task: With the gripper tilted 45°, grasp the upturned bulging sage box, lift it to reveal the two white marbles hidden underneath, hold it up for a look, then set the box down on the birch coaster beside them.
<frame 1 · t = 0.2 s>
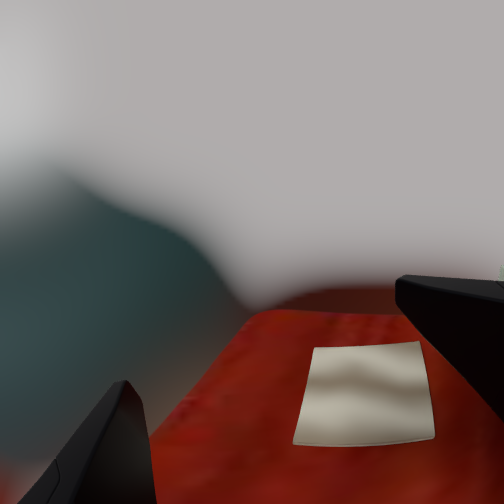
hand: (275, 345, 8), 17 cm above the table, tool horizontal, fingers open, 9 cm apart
birch coaster: (367, 392, 21), on the table
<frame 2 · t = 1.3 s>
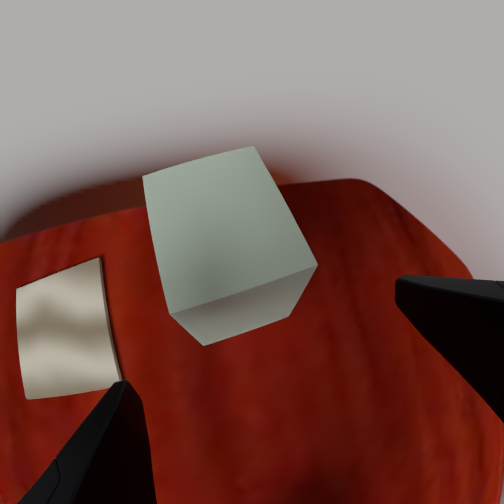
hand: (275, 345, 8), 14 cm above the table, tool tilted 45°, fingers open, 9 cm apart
bulging sage box: (228, 283, 23), on the table
birch coaster: (59, 332, 20), on the table
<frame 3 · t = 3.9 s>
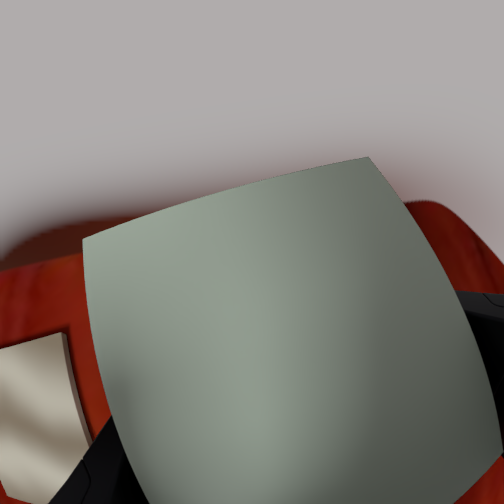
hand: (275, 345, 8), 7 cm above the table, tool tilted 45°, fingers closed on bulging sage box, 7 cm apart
bulging sage box: (272, 385, 13), on the table, touching gripper
birch coaster: (27, 430, 10), on the table
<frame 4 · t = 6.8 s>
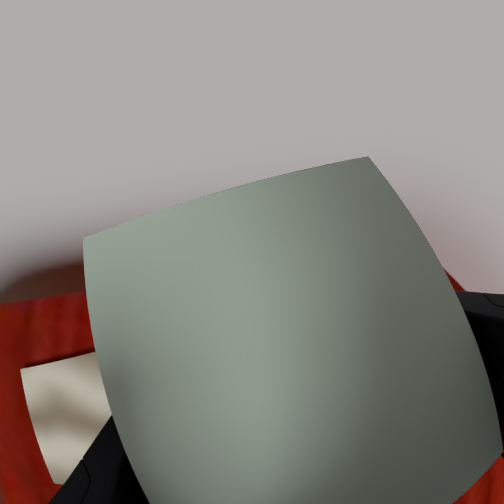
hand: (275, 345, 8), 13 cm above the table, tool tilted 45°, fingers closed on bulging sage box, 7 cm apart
bulging sage box: (272, 385, 13), point 7 cm above the table, touching gripper
birch coaster: (79, 424, 16), on the table
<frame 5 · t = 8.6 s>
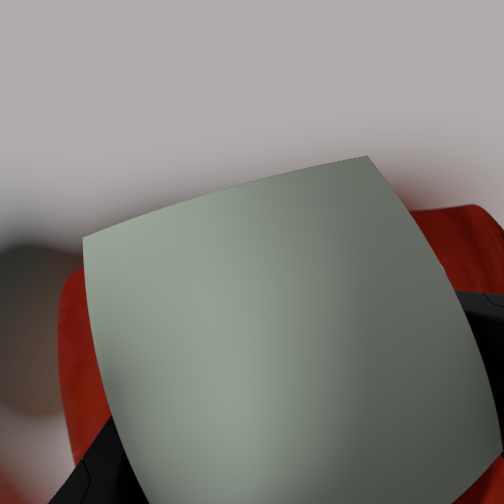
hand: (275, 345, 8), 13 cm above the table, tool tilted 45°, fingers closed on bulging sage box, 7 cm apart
bulging sage box: (272, 385, 13), point 6 cm above the table, touching gripper
when the fingers open (8 cm above the table, at t = 10.1 s): bulging sage box drops 1 cm, resting on birch coaster.
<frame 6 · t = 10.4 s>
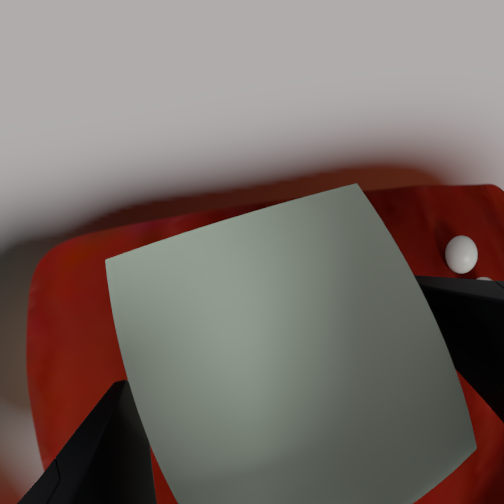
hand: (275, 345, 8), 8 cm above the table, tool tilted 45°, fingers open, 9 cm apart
bulging sage box: (271, 384, 14), point 1 cm above the table, touching birch coaster
marble a: (451, 262, 18), on the table
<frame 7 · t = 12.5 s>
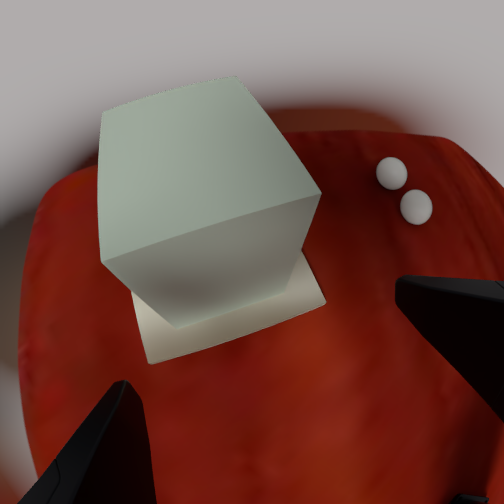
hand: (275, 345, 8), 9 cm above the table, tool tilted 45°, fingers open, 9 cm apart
bulging sage box: (209, 252, 19), point 1 cm above the table, touching birch coaster
marble a: (385, 183, 23), on the table
marble b: (408, 216, 21), on the table
birch coaster: (210, 256, 19), on the table
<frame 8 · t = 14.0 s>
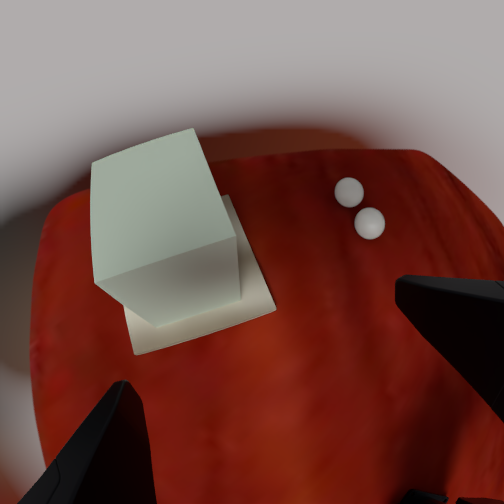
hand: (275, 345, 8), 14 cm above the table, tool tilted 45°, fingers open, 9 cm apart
bulging sage box: (183, 266, 23), point 1 cm above the table, touching birch coaster
marble a: (345, 201, 27), on the table
marble b: (364, 231, 25), on the table
birch coaster: (184, 269, 23), on the table
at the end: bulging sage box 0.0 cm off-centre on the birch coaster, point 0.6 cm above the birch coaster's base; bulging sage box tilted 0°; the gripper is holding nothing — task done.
